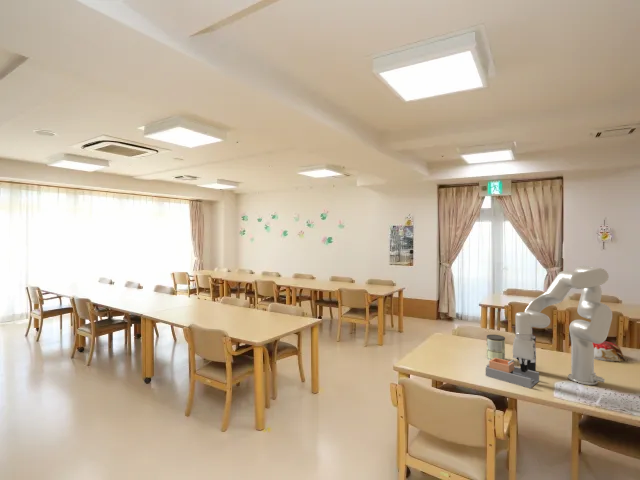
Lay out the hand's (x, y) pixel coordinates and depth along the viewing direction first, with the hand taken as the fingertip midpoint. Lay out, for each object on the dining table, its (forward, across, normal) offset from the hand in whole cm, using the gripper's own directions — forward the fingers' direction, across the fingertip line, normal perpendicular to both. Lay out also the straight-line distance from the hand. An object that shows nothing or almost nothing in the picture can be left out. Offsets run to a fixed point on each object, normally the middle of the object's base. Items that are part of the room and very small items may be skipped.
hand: (524, 371), depth 184 cm
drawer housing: (+5, +6, 0) cm, 8 cm away
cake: (+6, -18, -81) cm, 83 cm away
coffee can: (+6, +24, -24) cm, 35 cm away
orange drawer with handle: (+4, +10, +2) cm, 11 cm away
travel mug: (+6, +4, -18) cm, 20 cm away
